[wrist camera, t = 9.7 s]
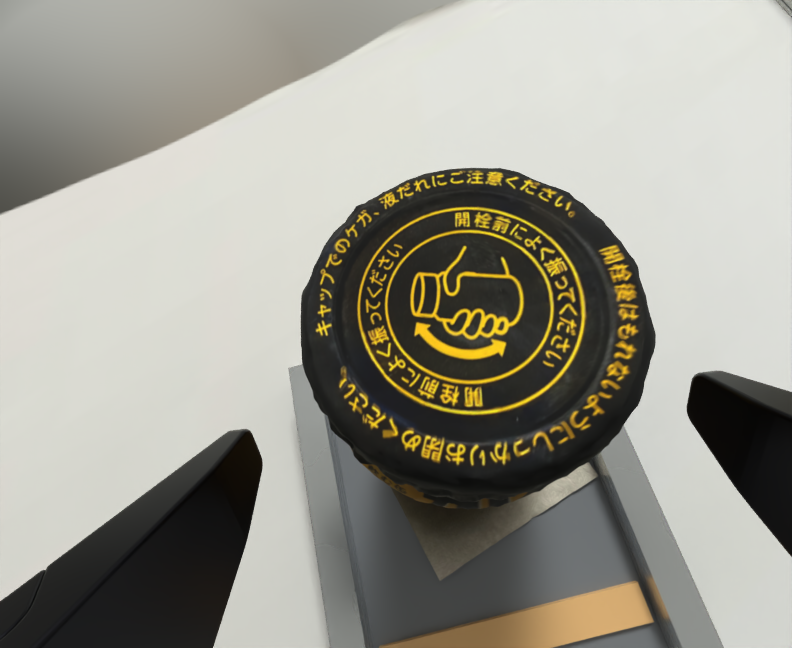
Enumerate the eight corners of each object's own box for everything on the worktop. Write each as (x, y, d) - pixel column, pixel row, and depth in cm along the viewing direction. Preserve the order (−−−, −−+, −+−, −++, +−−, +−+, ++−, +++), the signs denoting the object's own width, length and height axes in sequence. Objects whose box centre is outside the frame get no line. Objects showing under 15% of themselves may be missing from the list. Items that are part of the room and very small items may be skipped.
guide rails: (703, 640, 13) (728, 657, 12) (354, 727, 13) (346, 752, 12) (556, 303, 18) (563, 292, 17) (298, 373, 18) (288, 368, 17)
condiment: (474, 308, 18) (523, 58, 7) (596, 475, 15) (1030, 516, 4) (339, 388, 18) (154, 260, 6) (439, 578, 15) (425, 967, 3)
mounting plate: (694, 626, 14) (716, 641, 13) (352, 712, 14) (344, 733, 13) (556, 309, 19) (563, 299, 17) (299, 379, 19) (290, 374, 18)
